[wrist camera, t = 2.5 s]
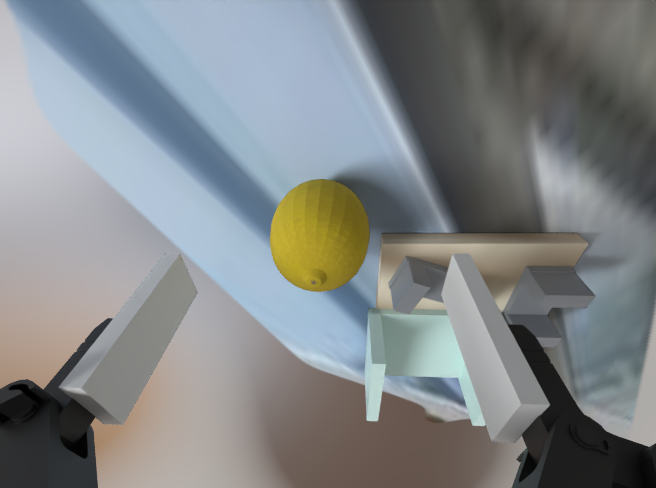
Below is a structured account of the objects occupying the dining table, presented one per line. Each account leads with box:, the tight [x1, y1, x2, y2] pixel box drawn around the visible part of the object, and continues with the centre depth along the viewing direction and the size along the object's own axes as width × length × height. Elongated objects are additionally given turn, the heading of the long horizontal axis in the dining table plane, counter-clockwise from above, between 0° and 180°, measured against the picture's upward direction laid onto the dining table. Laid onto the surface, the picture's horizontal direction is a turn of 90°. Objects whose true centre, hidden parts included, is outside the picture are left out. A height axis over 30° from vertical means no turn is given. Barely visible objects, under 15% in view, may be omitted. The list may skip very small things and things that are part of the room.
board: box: [375, 233, 589, 314], centre depth 25 cm, size 17×14×1 cm
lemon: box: [270, 179, 370, 292], centre depth 16 cm, size 6×6×8 cm
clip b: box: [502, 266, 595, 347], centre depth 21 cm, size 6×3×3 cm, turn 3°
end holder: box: [365, 308, 485, 426], centre depth 25 cm, size 10×10×5 cm
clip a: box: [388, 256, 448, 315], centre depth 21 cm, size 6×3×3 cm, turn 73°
